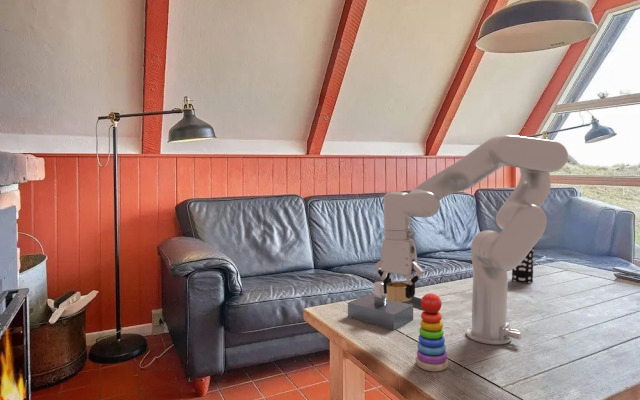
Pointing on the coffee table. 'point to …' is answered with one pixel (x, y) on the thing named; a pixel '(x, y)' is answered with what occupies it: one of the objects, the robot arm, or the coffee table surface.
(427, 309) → the stacking toy
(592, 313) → the coffee table surface
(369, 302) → the grey peg board
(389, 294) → the bronze ring
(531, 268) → the spotted tube
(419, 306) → the phone
